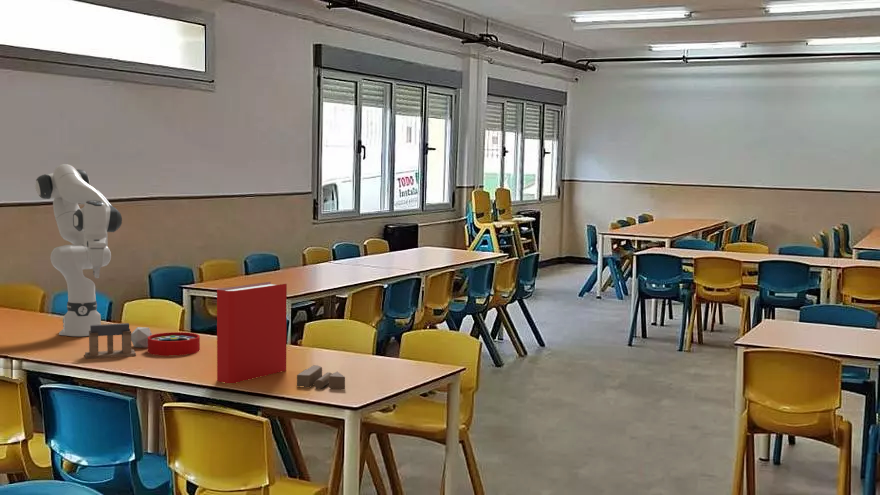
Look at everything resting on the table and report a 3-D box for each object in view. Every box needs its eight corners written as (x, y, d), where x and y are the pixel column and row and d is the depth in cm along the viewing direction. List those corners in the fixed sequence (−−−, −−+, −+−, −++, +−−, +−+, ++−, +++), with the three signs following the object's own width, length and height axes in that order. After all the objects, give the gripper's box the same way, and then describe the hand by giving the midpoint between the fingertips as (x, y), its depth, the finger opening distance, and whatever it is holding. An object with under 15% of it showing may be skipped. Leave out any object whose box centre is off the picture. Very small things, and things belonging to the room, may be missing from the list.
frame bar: (90, 335, 361) (90, 325, 360) (128, 333, 367) (128, 323, 366) (90, 336, 358) (90, 326, 358) (129, 334, 364) (129, 324, 364)
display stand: (85, 354, 363) (84, 330, 362) (133, 351, 370) (133, 328, 370) (86, 358, 356) (85, 334, 355) (135, 355, 363) (135, 331, 362)
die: (138, 351, 375) (153, 331, 377) (122, 339, 377) (137, 319, 379) (146, 354, 383) (160, 335, 385) (130, 343, 385) (145, 323, 387)
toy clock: (201, 340, 368) (148, 342, 361) (201, 355, 369) (148, 357, 362) (197, 331, 387) (146, 333, 380) (197, 345, 387) (146, 347, 381)
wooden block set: (295, 372, 317) (312, 361, 335) (295, 388, 318) (312, 377, 335) (344, 375, 314) (358, 364, 332) (344, 391, 315) (358, 379, 332)
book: (270, 367, 347) (270, 281, 345) (286, 370, 343) (286, 283, 340) (214, 380, 325) (214, 289, 322) (231, 384, 320) (231, 291, 317)
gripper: (86, 239, 379) (86, 273, 380) (88, 244, 360) (89, 279, 361) (102, 239, 381) (103, 273, 383) (106, 243, 363) (106, 279, 364)
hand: (96, 276), depth 372 cm, fingers open, 8 cm apart
